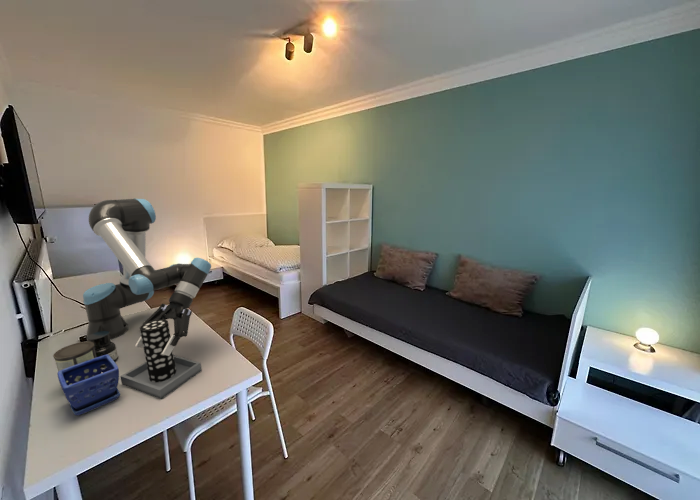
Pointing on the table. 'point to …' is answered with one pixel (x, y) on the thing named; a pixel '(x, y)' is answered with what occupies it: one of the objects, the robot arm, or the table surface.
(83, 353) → the coffee can
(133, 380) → the tray
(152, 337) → the white-spotted black cylinder
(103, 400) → the flower pot
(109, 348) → the ink bottle
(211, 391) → the table surface
